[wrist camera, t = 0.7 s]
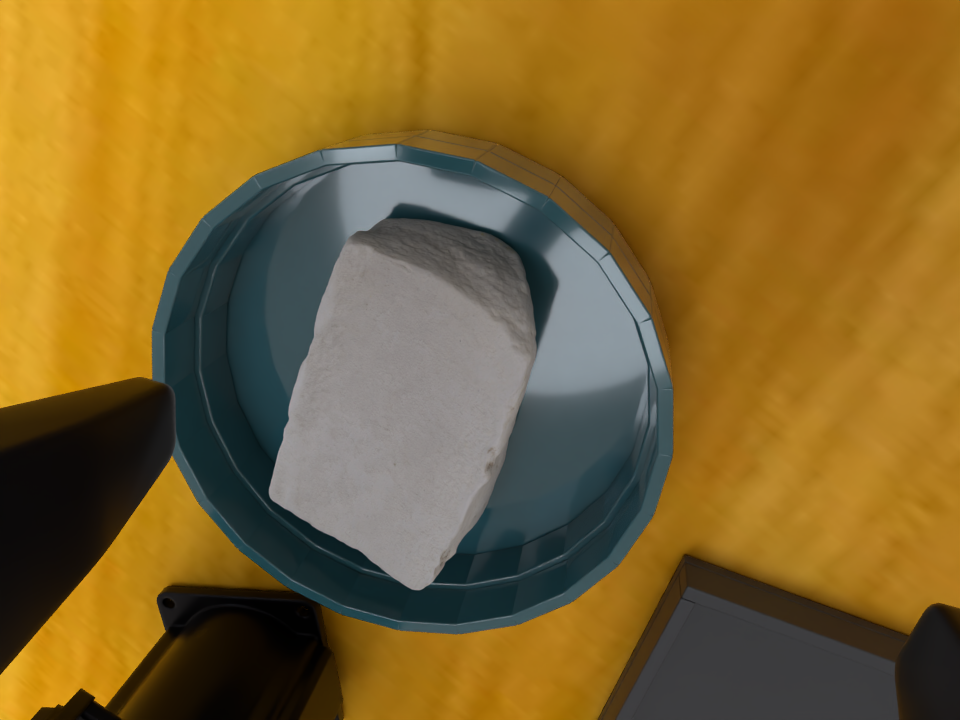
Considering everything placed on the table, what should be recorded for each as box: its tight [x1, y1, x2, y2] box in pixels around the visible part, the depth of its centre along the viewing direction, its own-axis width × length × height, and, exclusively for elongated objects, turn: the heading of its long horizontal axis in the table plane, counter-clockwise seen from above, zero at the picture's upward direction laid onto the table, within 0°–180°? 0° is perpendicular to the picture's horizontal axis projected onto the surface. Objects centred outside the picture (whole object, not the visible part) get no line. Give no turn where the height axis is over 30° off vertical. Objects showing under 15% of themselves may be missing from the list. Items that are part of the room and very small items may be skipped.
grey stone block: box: [269, 218, 537, 590], centre depth 22 cm, size 10×6×6 cm, turn 156°
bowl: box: [152, 130, 673, 634], centre depth 22 cm, size 14×14×4 cm
